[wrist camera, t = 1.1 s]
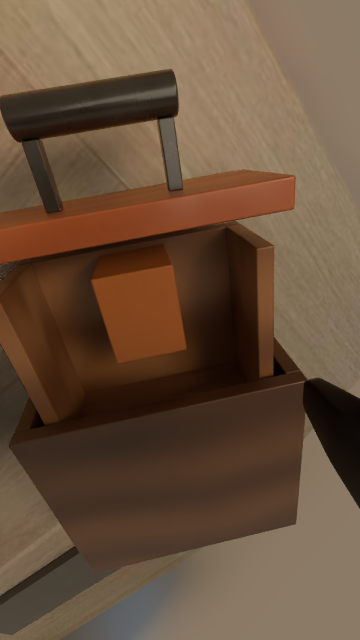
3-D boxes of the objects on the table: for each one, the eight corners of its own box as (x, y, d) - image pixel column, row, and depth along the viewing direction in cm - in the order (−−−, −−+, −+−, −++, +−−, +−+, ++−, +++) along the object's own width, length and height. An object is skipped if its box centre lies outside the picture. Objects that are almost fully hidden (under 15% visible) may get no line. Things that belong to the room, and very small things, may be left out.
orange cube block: (97, 256, 16) (90, 280, 13) (164, 243, 16) (172, 264, 13) (119, 328, 18) (117, 365, 15) (177, 317, 18) (187, 350, 15)
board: (152, 494, 30) (152, 504, 29) (189, 514, 32) (191, 524, 32) (-30, 616, 36) (-33, 627, 35) (14, 624, 39) (12, 635, 38)
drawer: (-53, 124, 13) (-165, 104, 8) (240, 76, 14) (302, 31, 9) (69, 395, 21) (51, 468, 16) (251, 356, 22) (286, 416, 17)
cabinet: (47, 352, 20) (7, 446, 14) (253, 310, 21) (308, 380, 15) (102, 472, 27) (93, 573, 21) (257, 437, 28) (296, 524, 21)
